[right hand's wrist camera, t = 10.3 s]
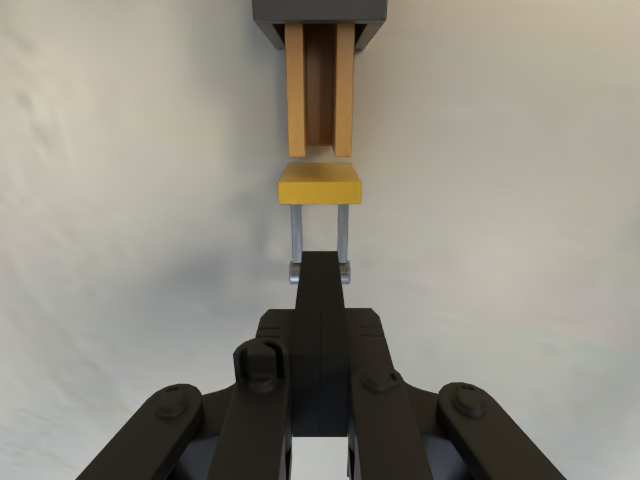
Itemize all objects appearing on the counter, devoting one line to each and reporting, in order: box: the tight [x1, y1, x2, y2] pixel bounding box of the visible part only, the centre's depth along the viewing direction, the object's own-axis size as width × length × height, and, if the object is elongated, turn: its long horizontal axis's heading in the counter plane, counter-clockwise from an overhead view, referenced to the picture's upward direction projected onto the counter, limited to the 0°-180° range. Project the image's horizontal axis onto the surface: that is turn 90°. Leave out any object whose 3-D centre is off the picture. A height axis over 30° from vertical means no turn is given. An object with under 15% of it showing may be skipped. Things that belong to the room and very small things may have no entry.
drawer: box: [278, 24, 362, 284], centre depth 19 cm, size 20×4×6 cm, turn 0°
